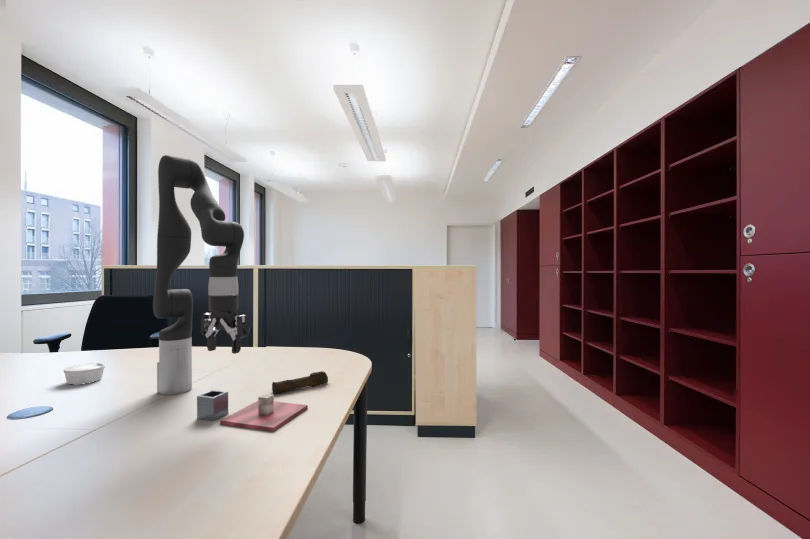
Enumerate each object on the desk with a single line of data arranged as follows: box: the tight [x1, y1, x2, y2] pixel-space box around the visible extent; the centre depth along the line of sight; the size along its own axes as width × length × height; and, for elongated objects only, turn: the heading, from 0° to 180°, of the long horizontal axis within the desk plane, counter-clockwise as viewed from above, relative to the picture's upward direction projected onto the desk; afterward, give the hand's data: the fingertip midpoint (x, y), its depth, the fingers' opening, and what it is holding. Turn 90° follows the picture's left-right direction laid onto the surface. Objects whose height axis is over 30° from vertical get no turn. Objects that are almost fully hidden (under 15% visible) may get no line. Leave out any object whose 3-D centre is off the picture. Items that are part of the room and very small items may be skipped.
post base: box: [219, 393, 309, 433], centre depth 105 cm, size 16×16×6 cm
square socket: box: [196, 389, 229, 422], centre depth 105 cm, size 5×5×6 cm
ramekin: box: [63, 362, 106, 385], centre depth 137 cm, size 11×11×5 cm
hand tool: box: [271, 371, 329, 395], centre depth 128 cm, size 19×4×5 cm, turn 124°
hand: (223, 351), depth 107 cm, fingers open, 8 cm apart
